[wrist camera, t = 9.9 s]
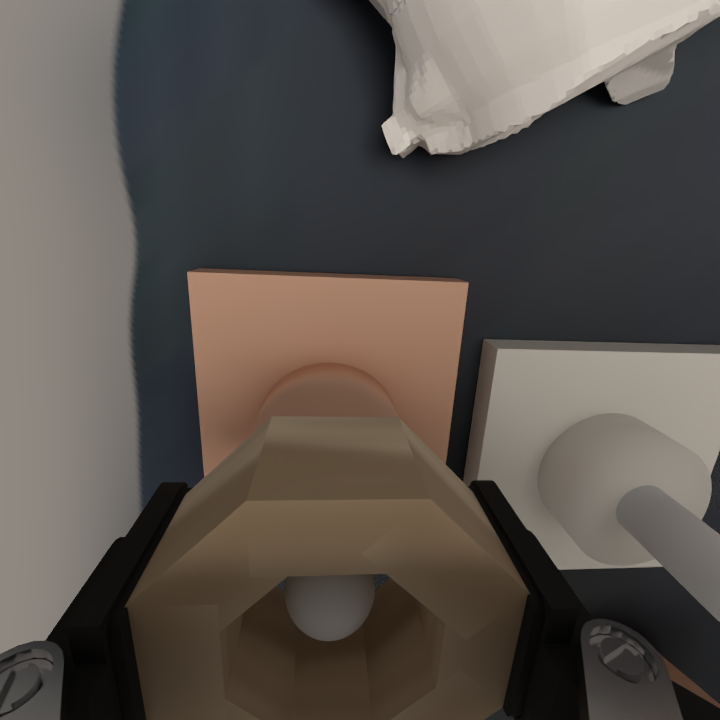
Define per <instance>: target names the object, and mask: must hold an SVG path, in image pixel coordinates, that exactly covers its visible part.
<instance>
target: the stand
mask: <svg viewBox="0 0 720 720" xmlns="http://www.w3.org/2000/svg"><path fill="white" fill-rule="evenodd" d="M719 450H720V345H699V344H659V343H619V342H579V341H539V340H499V339H483V346H482V353H481V360H480V367H479V374H478V381H477V388H476V395H475V402H474V409H473V415H472V422H471V429H470V436H469V443H468V450H467V457H466V464H465V471H464V478H463V483H464V484H465V485H466V486H470V483H471V481H473V480H492V481H494V482H495V483H496V484H497V486H498V487H499V489H500V490H501V492H502V493H503V495H504V496H505V498H506V499H507V501H508V502H509V504H510V505H511V507H512V508H513V510H514V511H515V513H516V514H517V516H518V517H519V519H520V520H521V522H522V523H523V525H524V526H525V528H526V529H527V530H529V531H531V532H532V533H533V534H534V535H535V536H536V538H537V539H538V541H539V542H540V544H541V545H542V547H543V548H544V549H545V551H546V552H547V554H548V555H549V557H550V558H551V560H552V561H553V563H554V564H555V565H556V567H557V568H558V570H566V569H601V568H635V567H664V568H665V569H666V570H667V571H668V572H669V573H670V574H671V575H672V576H673V577H674V578H675V579H676V580H677V581H678V582H679V583H680V584H681V585H682V586H683V587H684V588H685V589H686V590H687V591H688V592H689V593H690V594H691V595H692V596H693V597H694V598H695V599H696V600H697V601H698V602H699V603H700V604H701V605H702V606H703V607H704V608H705V609H707V610H708V611H709V612H710V613H711V614H712V615H713V616H714V617H715V618H716V619H717V620H718V621H719V622H720V534H718V533H717V532H716V531H715V530H713V529H712V528H711V527H709V526H708V525H707V524H705V523H704V522H703V521H702V518H703V516H704V515H705V512H706V510H707V508H708V505H709V502H710V498H711V491H712V483H711V477H710V476H711V473H712V470H713V467H714V464H715V462H716V459H717V456H718V453H719Z"/></svg>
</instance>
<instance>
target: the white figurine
mask: <svg viewBox="0 0 720 720" xmlns="http://www.w3.org/2000/svg"><path fill="white" fill-rule="evenodd" d="M369 1H370V2H371V3H372V5H373V6H374V7H375V8H376V9H377V10H378V12H379V13H380V14H381V15H382V17H383V18H384V19H385V20H386V21H387V22H388V23H389V24H390V25H391V27H392V34H393V38H394V42H395V46H396V56H395V72H394V96H393V114H392V116H391V117H390V118H389V119H388V120H387V121H385V122H384V123H383V124H382V125H381V126H382V129H383V132H384V135H385V138H386V141H387V144H388V146H389V148H390V150H391V153H392V154H394V155H397V154H398V153H399V155H400V156H401V157H402V158H404V157H406V156H407V155H408V154H410V153H411V152H412V151H414V150H415V149H416V148H417V146H421V147H423V148H424V149H425V150H426V151H427V152H429V153H430V155H432V154H433V155H434V154H452V155H461V154H463V153H465V152H468V151H470V150H474V149H477V148H479V147H484V146H486V145H488V144H491V143H494V142H496V141H497V140H501V139H505V138H507V137H508V136H509V135H510V134H517V133H518V132H519V131H520V130H521V129H522V128H527V127H529V126H530V124H531V123H532V122H533V121H534V120H536V119H537V118H539V117H540V116H542V115H543V114H544V113H546V112H548V111H550V110H552V109H554V108H556V107H557V106H559V105H561V104H563V103H565V102H567V101H568V100H570V99H572V98H574V97H576V96H577V95H579V94H581V93H583V92H585V91H587V90H588V89H590V88H592V87H594V86H596V85H598V84H600V83H602V82H605V86H606V88H607V91H608V92H609V95H610V97H611V99H612V101H614V102H618V104H619V103H620V104H623V105H626V104H629V103H631V102H633V101H636V100H638V99H640V98H643V97H645V96H648V95H650V94H653V93H656V92H658V91H661V90H663V89H664V88H665V87H666V86H667V84H668V83H669V82H670V78H671V76H672V74H673V69H674V57H675V49H676V46H677V44H678V43H680V42H682V41H684V40H685V39H687V38H688V37H690V36H691V35H692V34H694V33H695V32H696V31H697V30H699V29H700V28H702V27H704V26H705V25H706V24H708V23H710V22H711V21H713V20H714V19H716V18H718V17H719V16H720V0H369Z"/></svg>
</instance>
